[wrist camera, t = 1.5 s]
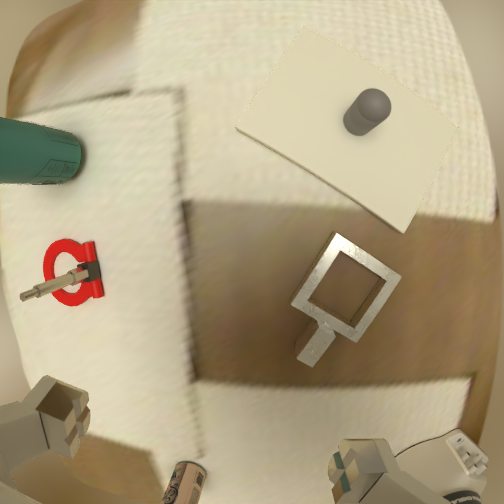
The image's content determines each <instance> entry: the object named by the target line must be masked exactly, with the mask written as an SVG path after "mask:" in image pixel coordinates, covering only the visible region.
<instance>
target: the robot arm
mask: <svg viewBox="0 0 504 504" xmlns="http://www.w3.org/2000/svg"><path fill="white" fill-rule="evenodd" d="M88 402H89V395H88V392H87V391H85V390H82V389H79V388H77V387H74V386H72V385H70V384H67V383H65V382H62V381H59V380H57V379H55V378H52V377H50V376H48V375H46V376H44V377H42V379H41V380H40V381H39V382H38V383H37V384H36V386H35V387H34V388H33V389H32V390H31V391H30V393H29V394H28V395H27V396H26V398H25V399H24V400H23V401H22V402H21V403H20V402H18V401H16V402H13V403H10V404H6V405H3V406H0V504H42V503H39V502H37V501H35V500H34V499H32V498H30V497H28V496H26V495H24V494H22V493H20V492H18V491H17V490H16V489H17V486H16V483H15V481H14V479H13V478H12V476H11V474H10V471H12V470H14V469H16V468H18V467H20V466H22V465H24V464H25V463H27V462H29V461H31V460H33V459H35V458H37V457H39V456H40V455H42V454H44V453H46V452H48V451H49V450H51V451H54V452H56V453H59V454H61V455H64V456H66V457H69V458H71V459H73V457H74V455H75V453H76V451H77V449H78V448H79V446H80V443H79V438H81V437H83V436H85V434H86V432H87V430H88V427H89V424H90V410H89V408H88V407H87V403H88ZM338 448H339V452H337V453H335V454H334V455H333V456H332V458H331V460H330V461H329V466H328V476H329V480H330V481H331V482H333V483H334V484H335V485H334V487H333V488H332V493H333V497H334V501H335V504H358V503H359V504H482V501H481V499H480V495H481V493H482V491H483V490H484V488H485V486H486V483H487V480H486V478H485V476H484V474H483V472H484V471H485V470H486V469H487V468H488V467H487V466H486V464H487V462H488V460H489V458H488V456H487V454H486V453H485V452H484V451H483V450H481V448H479V447H478V446H477V445H476V444H475V443H474V442H473V441H472V440H471V439H470V438H469V437H468V436H467V435H466V434H465V433H464V432H463V431H462V430H461V429H456V430H453V431H451V432H449V433H448V434H446V435H444V436H442V437H440V438H437V439H433V440H429V441H425V442H423V443H420V444H418V445H415V446H413V447H411V448H409V449H407V450H406V451H404V452H402V453H401V454H399V455H398V456H397V457H394V455H393V453H392V451H391V449H390V446H389V444H388V442H387V441H386V440H385V439H344V440H343V441H341V443H340V444H339V446H338Z"/></svg>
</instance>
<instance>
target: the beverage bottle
mask: <svg viewBox="0 0 504 504" xmlns="http://www.w3.org/2000/svg"><path fill="white" fill-rule="evenodd" d="M42 125H43V124H42ZM46 126H47V125H46ZM50 127H51V126H50ZM54 128H55V127H54ZM58 129H59V128H58ZM61 130H62V129H60V130H57V129H53V128H49V127H45V125H43V126H40V125H37V124H34V123H33V124H32V123H29V122H22V121H19V120H18V121H17V120H12V119H7V118H2V117H0V184H2V183H11V184H17V185H18V184H20V183H30V184H31V183H42V184H33V185H48V184H54V185H55V184H59V183H60V184H61V183H62V184H63V182H64V183H65V181H67V180H69V179H70V178H71V177H72V176H73V175H74V174H75V173H76V171H77V169H78V167H79V164H80V161H81V147H80V144H79V142H78V140H77V139H76V138H75V137H74V136H73V135H72V133H68V132H65V131H61ZM60 184H59V185H60ZM27 185H28V184H27Z"/></svg>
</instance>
